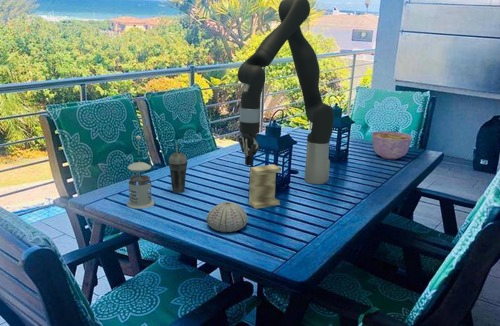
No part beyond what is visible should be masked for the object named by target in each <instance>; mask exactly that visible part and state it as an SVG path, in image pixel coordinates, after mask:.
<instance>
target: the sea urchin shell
mask: <svg viewBox="0 0 500 326" xmlns="http://www.w3.org/2000/svg"><path fill="white" fill-rule="evenodd" d="M205 221H206V224H207V225H208V226H209V227H211V229H214V231H217V232H222V233H227V232H228V233H232V232H237V231H238V230H239V231H240V230H241V229H243V228H244V227H246V225H247V223H248V221H249V220H248V215H247V213H246V211H245V210H244V208H242V206H241V205H240V204H238V203H235V202H231V201H230V202H229V201H223V202H220V203H218V204H217V205H215V206H213V208H211V210H209V212H208V214H206V219H205Z"/></svg>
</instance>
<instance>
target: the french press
mask: <svg viewBox="0 0 500 326" xmlns="http://www.w3.org/2000/svg"><path fill="white" fill-rule="evenodd" d="M141 139H142V137H141V136H140V135H136V136H135V140H137V148H138V149H137V150H138V151H137V152H138V154H140V141H139V140H141ZM151 168H152V165H150V164H148V163H146V162H143V161H137V162H133V163H130V164H129V165H128V166H127V170H129V171H132V172H134V173H136V175H134V174H133V175H132V176H130V177H129V179H128V180H129V181H128V200H129V201H128V202H126V206H127V208H128V207H129V208H131V209H147V208H151V207H153V206H155V201H154V200H153V199H152V180H151V176H149V175H145V174H141V172H145V171H149V170H150V169H151Z"/></svg>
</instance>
